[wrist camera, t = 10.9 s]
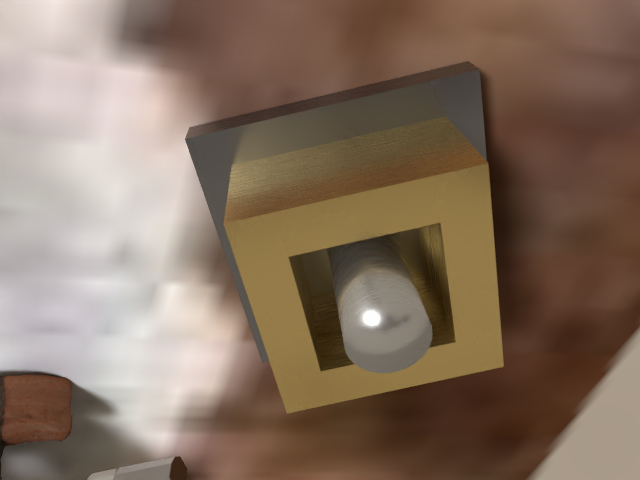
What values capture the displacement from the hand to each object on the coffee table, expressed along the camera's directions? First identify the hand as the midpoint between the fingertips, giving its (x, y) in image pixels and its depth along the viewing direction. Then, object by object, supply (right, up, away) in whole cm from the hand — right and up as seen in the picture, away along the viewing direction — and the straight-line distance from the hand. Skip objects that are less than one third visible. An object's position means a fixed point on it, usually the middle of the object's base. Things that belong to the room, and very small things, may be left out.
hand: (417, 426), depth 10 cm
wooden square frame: (-1, +3, +7) cm, 8 cm away
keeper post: (-1, +4, +8) cm, 9 cm away
